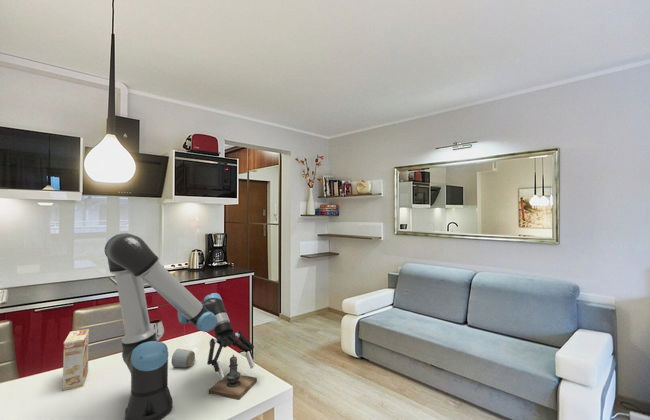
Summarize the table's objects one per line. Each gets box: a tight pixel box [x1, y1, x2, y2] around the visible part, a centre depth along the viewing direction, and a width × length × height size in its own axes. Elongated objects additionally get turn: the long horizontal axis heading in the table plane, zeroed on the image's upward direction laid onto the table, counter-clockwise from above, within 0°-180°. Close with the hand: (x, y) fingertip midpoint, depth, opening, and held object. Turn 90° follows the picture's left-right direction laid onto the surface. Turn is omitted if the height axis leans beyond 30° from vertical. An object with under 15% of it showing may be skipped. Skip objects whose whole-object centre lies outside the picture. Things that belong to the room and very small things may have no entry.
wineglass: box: [149, 319, 165, 342], centre depth 156 cm, size 8×8×18 cm
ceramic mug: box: [171, 348, 196, 368], centre depth 149 cm, size 11×8×8 cm
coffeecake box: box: [62, 328, 90, 392], centre depth 135 cm, size 15×7×20 cm, turn 31°
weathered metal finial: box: [225, 354, 242, 387], centre depth 130 cm, size 6×6×12 cm
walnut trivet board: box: [207, 374, 258, 400], centre depth 130 cm, size 14×14×2 cm
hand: (238, 372), depth 127 cm, fingers open, 13 cm apart
